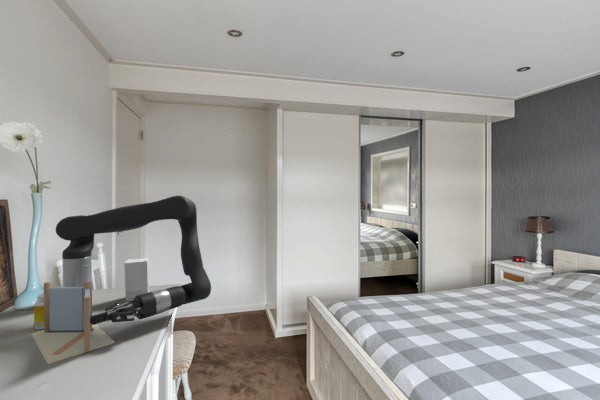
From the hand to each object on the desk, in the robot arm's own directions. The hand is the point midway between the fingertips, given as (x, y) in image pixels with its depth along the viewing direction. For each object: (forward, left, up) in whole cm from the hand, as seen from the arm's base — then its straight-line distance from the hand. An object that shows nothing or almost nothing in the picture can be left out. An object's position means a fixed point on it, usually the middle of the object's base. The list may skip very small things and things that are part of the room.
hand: (90, 320), depth 87 cm
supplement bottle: (-24, -6, -7) cm, 26 cm away
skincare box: (-30, +24, -7) cm, 39 cm away
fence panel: (-2, 0, -6) cm, 7 cm away
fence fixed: (-14, -2, -7) cm, 16 cm away
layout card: (-8, -3, -7) cm, 11 cm away
